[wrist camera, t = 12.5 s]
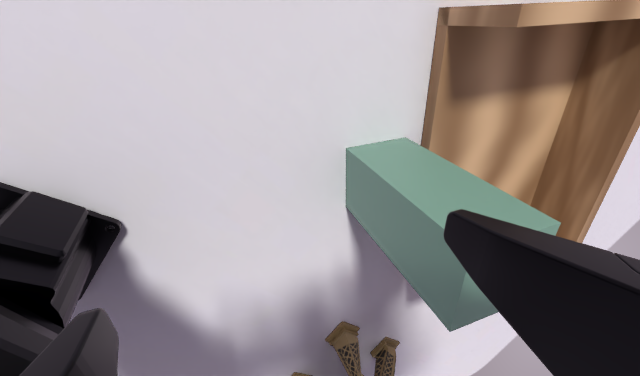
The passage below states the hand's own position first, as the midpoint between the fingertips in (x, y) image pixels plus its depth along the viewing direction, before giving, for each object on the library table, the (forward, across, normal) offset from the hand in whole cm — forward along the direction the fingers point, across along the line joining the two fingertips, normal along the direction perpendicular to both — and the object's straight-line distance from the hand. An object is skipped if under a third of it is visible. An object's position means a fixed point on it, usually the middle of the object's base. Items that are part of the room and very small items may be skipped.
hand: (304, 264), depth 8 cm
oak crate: (+13, -21, +5) cm, 25 cm away
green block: (+13, -10, +5) cm, 17 cm away
